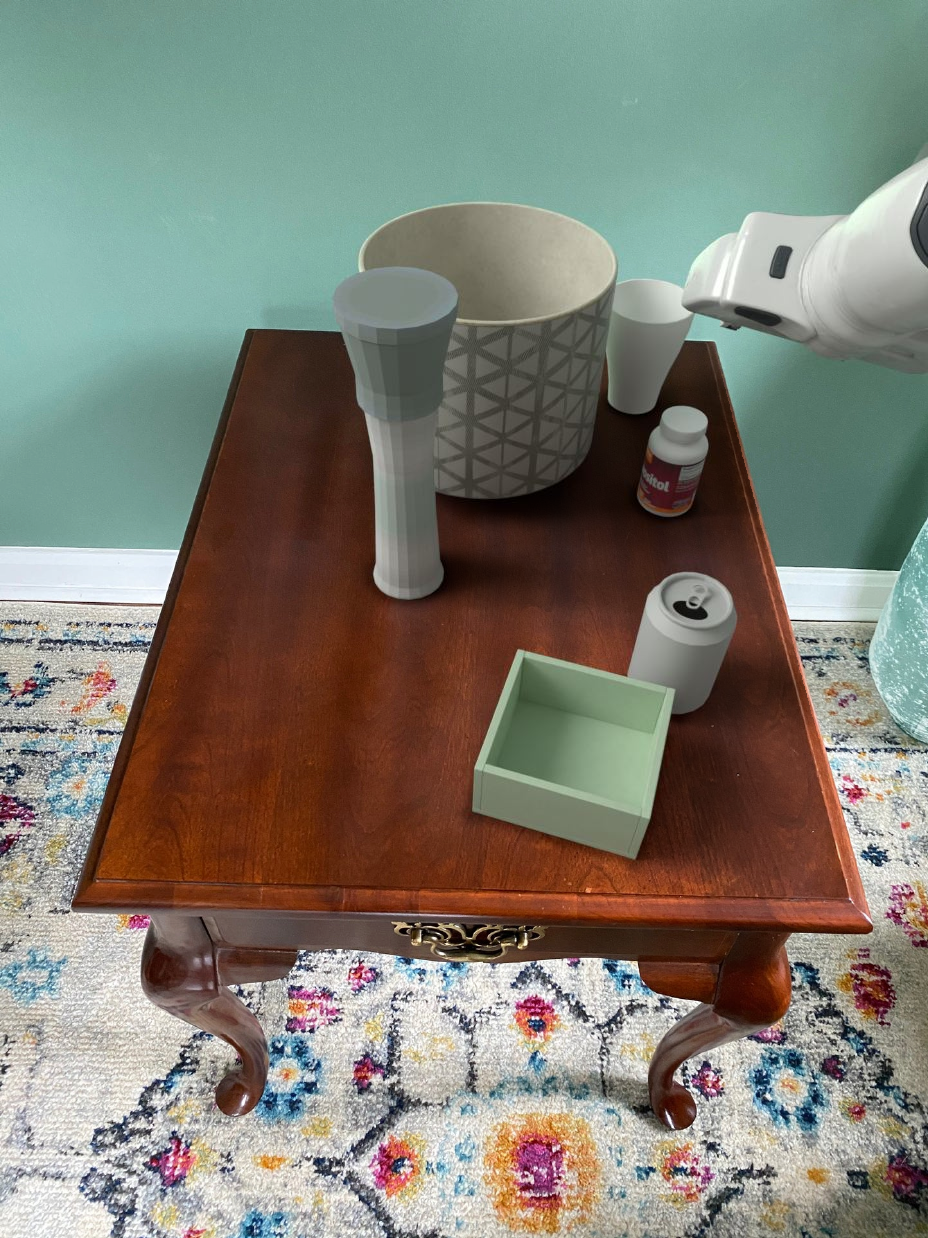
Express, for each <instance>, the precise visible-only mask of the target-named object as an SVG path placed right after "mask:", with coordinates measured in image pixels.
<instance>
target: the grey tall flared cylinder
mask: <svg viewBox="0 0 928 1238" xmlns="http://www.w3.org/2000/svg"><path fill="white" fill-rule="evenodd" d="M331 299H332V307H333V314H334V318H335V322H336V324H337V325H338V326H339V330H340V333H341V336H342V339H343V341H344V344H345V347H346V350H347V353H348V357H349V359H350V363H351V366H352V369H353V372H354V374H355V375H354V376H355V377H354V378H355V391H356V393H355V394H356V400H357V404H358V406H359V407H360V409H361V410H362V411H363V412H364V416H365V421H366V426H367V432H368V437H369V442H370V448H371V453H372V461H373V462H372V463H373V484H374V485H373V486H374V487H373V488H374V508H375V510H374V511H375V513H374V514H375V565H374V567H373V572H372V575H373V579H374V584H375V585H376V587H377V588H378V589H379V591H381V592H382V593H383V594H385V595H387V596H388V597H392V598H395V599H397V600H409V601H410V600H411V601H412V600H417V599H422V598H425V597H427V596H429V595H432V593H434V592H435V591H436V590H437V589H439V588H440V586H441V584H442V582H443V580H444V573H445V571H444V570H445V569H444V566H443V564H442V563H443V562H441V553H440V541H439V529H438V517H437V516H438V515H437V501H436V500H437V499H436V492H435V479H434V460H433V453H434V443H435V433H436V423H437V412H438V407H439V406H440V405H441V404H442V400H443V368H444V364H445V359H446V355H447V351H448V346H449V342H450V337H451V333H452V329H453V324H454V323H455V322H456V319H457V314H458V294H457V291H456V289H455V287H454V285H453V284H451V283H450V282H449V281H448V280H447V279H445V278H444V277H442V276H440V275H437V274H435V273H433V272H431V271H426V270H422V269H417V268H412V267H384V268H375V269H371V270H367V271H363V272H360V273H359V272H358V273H355V274H354V275H353V274H352V276H351V275H350V276H349V277H347V278H345V279H344V280H343V281H342V282H341V283H340V284H338V285H337V286H336V287H335V290H334V293H333V295H332V298H331Z"/></svg>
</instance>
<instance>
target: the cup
mask: <svg viewBox="0 0 928 1238" xmlns="http://www.w3.org/2000/svg"><path fill="white" fill-rule="evenodd" d="M683 291H684V287H682V286H680V285H677V284H675V283H672V282H669V281H665V280H662V279H661V280H660V279H654V278H631V279H626V280H622V281H620V282H616V287H615V294H614V300H613V307H612V313H611V320H610V326H609V333H608V339H607V345H606V352H605V357H606V360H607V362H606V363H607V375H608V386H607V388H608V392H607V401H608V404H610V406H611V407H612V408H613V409H615V410H617V411H619V412H622V413H624V414H629V415H640V414H645V413H649V412H650V411H652V410H653V409H654V408H655V406H656V404H657V401H658V398H659V395H660V392H661V390H662V387H663V385H664V383H665V380H666V379H667V376H668V374H669V372H670V370H671V368H672V366H673V365H674V363H675V361H676V359H677V358H678V356H679V354H680V352H681V349H682V347H683V345H684V343H685V341H686V339H687V336H688V335H689V332H690V331H691V330H690V329H691V327H692V324H693V321H694V318H695V315H696V313H693V312H690V311H688V310H686V309H685V308H684V307H683V306H682V304H681V299H682V295H683Z"/></svg>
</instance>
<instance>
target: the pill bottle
mask: <svg viewBox="0 0 928 1238" xmlns="http://www.w3.org/2000/svg"><path fill="white" fill-rule="evenodd" d="M708 423H709V421H708V417H707V416H706V414H705V413H703V412H702V411H701V410H699V409H697V408H695V407H692V406H687V405H676V406H671V407H669V408H667V409H665V410H664V411H663V412H662V414H661V418H660V421H659V425H658V426H656V427H655V428H654V429H653V430H652V431H651V433H650V435H649V439H648V441H647V447H646V451H645V456H644V460H643V465H642V470H641V474H640V479H639V483H638V486H637V492H636V497H637V500H638V502H639V504H640V505H641V507H642V508H644V509H645V510H646V511H648V512H649V513H651V514H653V515H656V516H659V517H665V518H673V517H678V516H681V515H683V514H685V513H686V512H688V510H689V509H690V508H691V507H692V505H693V502H694V499H695V495H696V493H697V489H698V486H699V482H700V478H701V475H702V472H703V468H704V465H705V461H706V457H707V455H708V451H709V442H708V438H707V436H706V433H707V429H708Z"/></svg>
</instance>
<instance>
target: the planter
mask: <svg viewBox="0 0 928 1238" xmlns="http://www.w3.org/2000/svg"><path fill="white" fill-rule="evenodd" d="M618 261H619V260H618V258H617V255H616V252H615V250H614V248H613V247H612V245H611V244H610V243H609V242H608V241H607V239H605V238H604V237H603V236H602V235H601V234H600V233H598V232H597V231H596V230H595V229H593V228H592V227H590V226H589V225H587V224H585V223H583V222H581V221H579V220H576V218H575V219H574V218H572V217H570V216H567V215H565V214H562V213H559V212H555V211H553V210H549V209H545V208H541V207H538V206H537V207H536V206H533V205H526V204H519V203H511V202H499V201H465V202H455V203H454V202H453V203H445V204H439V205H434V206H428V207H424V208H421V209H417V210H414V211H411V212H407V213H405V214H402V215H400V216H398V217H395V218H393V219H391V220H389V221H387V222H385V223H384V224H382V225H381V226H380V227H378V228H377V229H376V230H374V231H373V232H372V233H371V234H370V235H369V236H368V237H367V238H366V240H365V241H364V242H363V244H362V246H361V248H360V251H359V254H358V273H360V272H363V271H367V270H371V269H375V268H384V267H412V268H417V269H422V270H426V271H431V272H433V273H435V274H437V275H440V276H442V277H444V278H445V279H447V280H448V281H449V282H450V283H451V284H453V285H454V287H455V289H456V291H457V294H458V314H457V319H456V322H455V323H454V324H453V329H452V333H451V337H450V342H449V346H448V351H447V355H446V359H445V364H444V368H443V400H442V404H441V405H440V406H439V407H438V412H437V423H436V433H435V443H434V453H433V460H434V479H435V493H437V494H443V495H446V496H450V497H451V496H452V497H455V498H456V497H457V498H463V499H474V500H499V499H509V498H515V497H521V496H525V495H529V494H533V493H536V492H540V491H542V490H544V489H547V488H549V487H551V486H554V485H555V484H558V483H559V482H562V480H564V479H566V478H567V477H569V476H570V475H571V474H572V473H574V472H575V471H576V470H577V469H578V467H580V466H581V464H582V463H583V462H584V460H585V459H586V458H587V456H588V454H589V451H590V449H591V446H592V441H593V436H594V429H595V423H596V416H597V409H598V404H599V403H598V402H599V398H600V397H599V396H600V390H601V384H602V378H603V370H604V364H605V358H606V345H607V339H608V333H609V326H610V320H611V313H612V307H613V300H614V294H615V287H616V284H617V281H618V280H617V279H618V274H619V273H618V272H619V262H618Z"/></svg>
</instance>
